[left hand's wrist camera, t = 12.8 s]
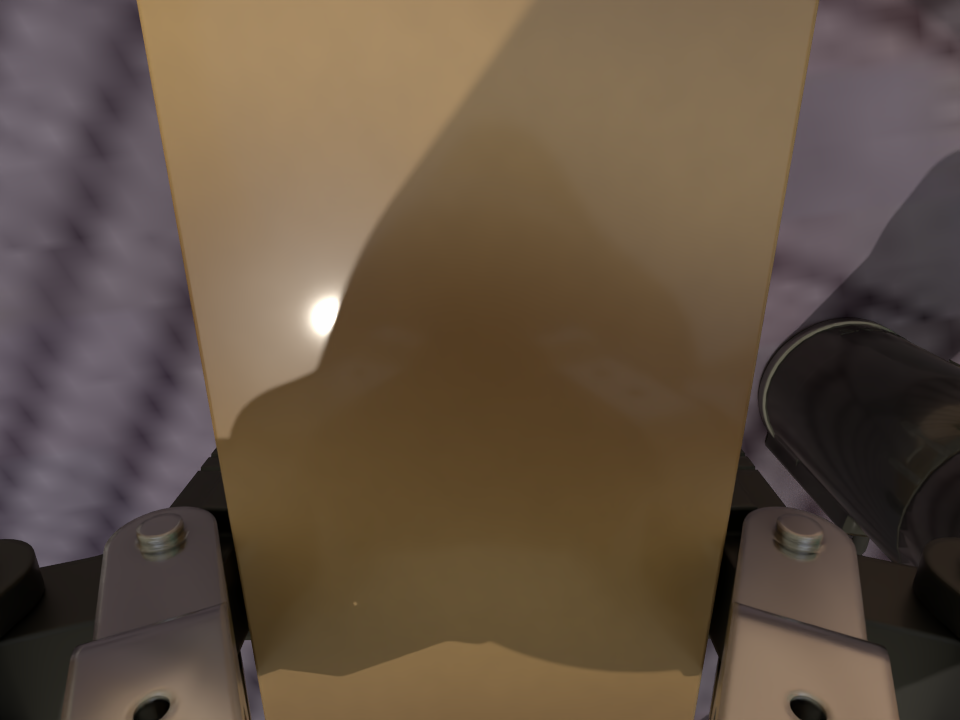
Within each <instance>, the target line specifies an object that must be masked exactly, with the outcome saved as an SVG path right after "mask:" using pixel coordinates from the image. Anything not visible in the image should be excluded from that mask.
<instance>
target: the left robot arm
mask: <svg viewBox="0 0 960 720" xmlns="http://www.w3.org/2000/svg"><path fill="white" fill-rule="evenodd" d="M758 405H759V412H760V416H761V419H762V421H763V423H764V425H765V427H766V429H767V430H768V437H767V440H766V443H765V445H766V447H767V448H768V449H769V450H770V451H771V452H772V453H773V455H774V456H775V457H776V458H777V459H778V460H779V461H780V462H781V464H782V465H783V466H784V467H785V468H786V469H787V470H788V472H789V473H790V474H791V475H792V476H793V477H794V478H795V480H796V481H797V482H798V483H799V484H800V485H801V486H802V487H803V489H804V490H805V491H806V492H807V493H808V494H809V495H810V497H811V498H812V499H813V500H814V501H815V502H816V503H817V505H818V506H819V507H820V508H821V509H822V510H823V511H824V512H825V514H826V515H827V516H828V517H829V518H830V519H831V520H832V522H833V523H834V524H833V523H832V522H830V521H828V520H826V519H824V518H822V517H820V516H818V515H815V514H812V513H810V512H807V511H803V510H799V509H794V508H789V507H786V506H785V505H784V503H783V502H782V501H781V500H780V498H779V497H778V496H777V494H776V493H775V492H774V490H773V489H772V488H771V487H770V485H769V484H768V483H767V481H766V480H765V479H764V478H763V476H762V475H761V474H760V472H759V471H758V470H755V466H754V465H753V463H752V462H751V461H750V459H749V458H748V457H747V456H745V453H744V452H743V450H742V449H741V451H740V457H739V463H738V469H737V474H736V480H735V486H734V492H733V497H732V503H731V509H730V515H729V520H728V526H727V532H726V537H725V543H724V549H723V555H722V560H721V566H720V572H719V578H718V583H717V589H716V595H715V601H714V606H713V612H712V618H711V624H710V629H709V635H708V639H711V640H712V643H713V645H714V647H715V650H716V652H717V654H718V662H717V668H716V673H715V680H714V686H713V693H712V699H711V706H710V712H709V719H708V720H960V365H959V364H957V363H955V362H953V361H951V360H949V362H948V361H946V360H944V359H942V358H940V357H938V356H936V355H934V354H932V353H930V352H929V351H927V350H925V349H923V348H921V347H918V346H917V345H915V344H913V343H911V342H909V341H907V340H906V339H905V338H903V337H901V336H899V335H897V334H896V333H895V332H893V331H891V330H889V329H888V328H886V327H884V326H882V325H880V324H877V323H875V322H872V321H869V320H865V319H859V318H839V319H833V320H828V321H825V322H821V323H819V324H816V325H813V326H811V327H809V328H807V329H805V330H803V331H802V332H800V333H798V334H797V335H796V336H794V337H793V338H791V339H790V340H789V341H788V342H787V343H786V344H784V345H783V346H782V347H781V348H780V350H779V351H778V352H777V353H776V354H775V355H774V357H773V358H772V360H771V361H770V363H769V364H768V366H767V368H766V370H765V372H764V374H763V377H762V380H761V383H760V387H759V394H758ZM848 535H851V536H853V538H852V539H851V538H850V537H849V536H848ZM869 539H871V540H872V541H873V542H874V543H875V544H876V545H877V546H878V548H879V549H880V550H881V551H882V552H883V553H884V554H885V555H886V556H887V557H888V558H889V559H890V560H891V561H892V562H890V561H885V560H880V559H875V558H870V557H866V556H862V554H863V553H864V552H865V551H866V548H867V545H868V542H869ZM244 640H251V637H250V631H249V625H248V620H247V614H246V609H245V603H244V597H243V592H242V586H241V581H240V575H239V569H238V564H237V558H236V553H235V547H234V541H233V536H232V530H231V525H230V519H229V513H228V508H227V502H226V497H225V491H224V485H223V480H222V474H221V469H220V463H219V457H218V452H217V448H216V449H215V450H214V451H213V453H212V454H211V457H209V458H208V459H207V460H206V462H205V463H204V464H203V465H202V467H201V471H198V472H197V473H196V474H195V476H194V477H193V478H192V479H191V481H190V482H189V483H188V485H187V486H186V487H185V488H184V490H183V491H182V492H181V493H180V495H179V496H178V497H177V499H176V500H175V501H174V502H173V504H172V505H171V506H170V508H166V509H161V510H157V511H153V512H150V513H148V514H145V515H142V516H140V517H138V518H136V519H134V520H132V521H130V522H128V523H127V524H125V525H124V526H122V527H121V528H119V529H118V530H117V531H116V532H115V533H114V534H113V535H112V536H111V537H110V538H109V539H108V541H107V543H106V545H105V548H104V552H103V554H102V555H99V556H95V557H90V558H86V559H81V560H76V561H71V562H66V563H61V564H56V565H51V566H46V567H41V568H39V565H38V562H37V558H36V555H35V552H34V550H33V548H32V546H30V545H29V544H28V543H26V542H23V541H20V540H14V539H0V720H252V719H251V712H250V706H249V699H248V693H247V686H246V680H245V673H244V668H243V662H242V657H241V651H240V649H241V647H242V645H243V643H244Z"/></svg>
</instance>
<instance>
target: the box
mask: <svg viewBox="0 0 960 720" xmlns="http://www.w3.org/2000/svg"><path fill="white" fill-rule="evenodd" d="M137 4H138V10H139V16H140V21H141V27H142V32H143V38H144V43H145V49H146V55H147V60H148V66H149V71H150V77H151V83H152V88H153V94H154V99H155V105H156V111H157V116H158V122H159V127H160V133H161V139H162V144H163V150H164V155H165V161H166V167H167V172H168V178H169V183H170V189H171V195H172V200H173V206H174V211H175V217H176V223H177V228H178V234H179V239H180V245H181V250H182V256H183V262H184V267H185V273H186V278H187V284H188V290H189V295H190V301H191V306H192V312H193V318H194V323H195V329H196V334H197V340H198V346H199V351H200V357H201V362H202V368H203V374H204V379H205V385H206V390H207V396H208V402H209V407H210V413H211V418H212V424H213V430H214V435H215V441H216V446H217V452H218V457H219V463H220V469H221V474H222V480H223V485H224V491H225V497H226V502H227V508H228V513H229V519H230V525H231V530H232V536H233V541H234V547H235V553H236V558H237V564H238V569H239V575H240V581H241V586H242V592H243V597H244V603H245V609H246V614H247V620H248V625H249V631H250V637H251V642H252V648H253V653H254V659H255V664H256V670H257V676H258V681H259V687H260V692H261V698H262V704H263V709H264V715H265V720H694V715H695V710H696V704H697V698H698V692H699V687H700V681H701V675H702V669H703V664H704V658H705V652H706V646H707V641H708V635H709V629H710V624H711V618H712V612H713V606H714V601H715V595H716V589H717V583H718V578H719V572H720V566H721V560H722V555H723V549H724V543H725V537H726V532H727V526H728V520H729V515H730V509H731V503H732V497H733V492H734V486H735V480H736V474H737V469H738V463H739V457H740V451H741V446H742V440H743V434H744V428H745V423H746V417H747V411H748V405H749V400H750V394H751V388H752V383H753V377H754V371H755V365H756V360H757V354H758V348H759V342H760V337H761V331H762V325H763V319H764V314H765V308H766V302H767V296H768V291H769V285H770V279H771V273H772V268H773V262H774V256H775V251H776V245H777V239H778V233H779V228H780V222H781V216H782V210H783V205H784V199H785V193H786V187H787V182H788V176H789V170H790V164H791V159H792V153H793V147H794V141H795V136H796V130H797V124H798V119H799V113H800V107H801V101H802V96H803V90H804V84H805V78H806V73H807V67H808V61H809V55H810V50H811V44H812V38H813V32H814V27H815V21H816V15H817V10H818V4H819V0H137Z"/></svg>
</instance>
